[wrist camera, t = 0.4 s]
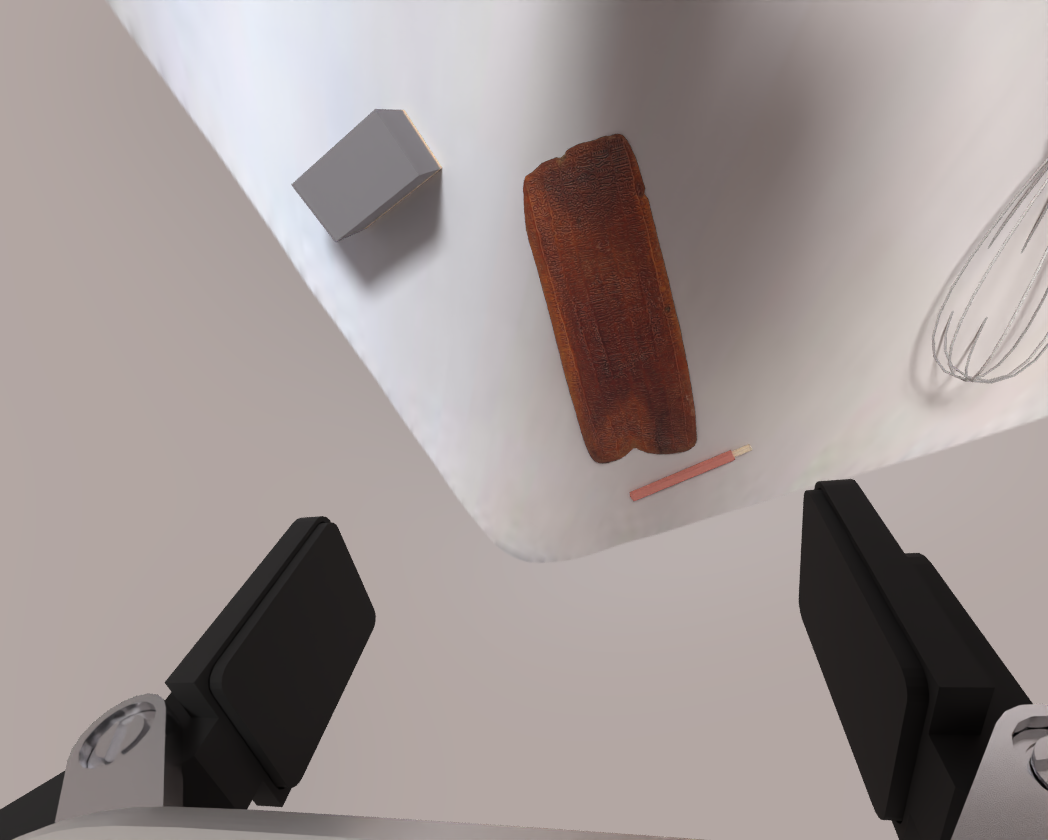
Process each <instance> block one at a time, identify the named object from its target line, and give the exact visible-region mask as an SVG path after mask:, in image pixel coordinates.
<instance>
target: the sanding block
mask: <svg viewBox="0 0 1048 840" xmlns="http://www.w3.org/2000/svg"><path fill="white" fill-rule="evenodd" d="M440 169H442V167H441V165H440V164H439V162H438V161H437V159H436V158H435V156H434V155H433V153H432V152H431V150H430V149H429V147H428V146H427V144H426V142H425V141H424V139H423V138H422V136H421V135H420V133H419V132H418V130H417V129H416V127H415V126H414V124H413V123H412V121H411V120H410V118H409V117H408V115H407V113H406V112H405V110H386V109H375V110H374V111H373V112H371V113H370V114H369V115H368V116H367V117H366V118H365V119H364V120H363V121H362V122H360V123H359V124H358V125H357V126H356V127H355V128H354V129H353V130H352V131H350V132H349V133H348V134H347V135H346V136H345V137H344V138H343V139H342V140H340V141H339V142H338V143H337V144H336V145H335V146H334V147H333V148H332V149H330V150H329V151H328V152H327V153H326V154H325V155H324V156H323V157H322V158H320V159H319V160H318V161H317V162H316V163H315V164H314V165H313V166H312V167H310V168H309V169H308V170H307V171H306V172H305V173H304V174H303V175H302V176H300V177H299V178H298V179H297V180H296V181H295V182H294V183H293V184H292V186H293V188H294V189H295V190H296V192H297V193H298V194H299V195H300V197H301V198H302V199H303V201H304V202H305V203H306V205H307V206H308V207H309V209H310V210H311V211H312V212H313V214H314V215H315V216H316V218H317V219H318V220H319V222H320V223H321V224H322V225H323V227H324V228H325V229H326V231H327V232H328V233H329V235H330V236H331V237H332V239H333V240H334V241H335V242H337V241H339V240H342V239H344V238H346V237H348V236H351V235H353V234H355V233H357V232H359V231H362V230H364V229H366V228H367V227H368V226H370V225H371V224H372V223H373V222H375V221H376V220H377V219H379V218H380V217H381V216H382V215H384V214H385V213H386V212H387V211H389V210H390V209H391V208H392V207H394V206H395V205H396V204H397V203H399V202H400V201H401V200H403V199H404V198H405V197H406V196H408V195H409V194H410V193H411V192H413V191H414V190H415V189H416V188H418V187H419V186H420V185H421V184H423V183H424V182H425V181H427V180H428V179H429V178H430V177H432V176H433V175H434V174H435V173H437V172H438V171H439V170H440Z"/></svg>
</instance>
